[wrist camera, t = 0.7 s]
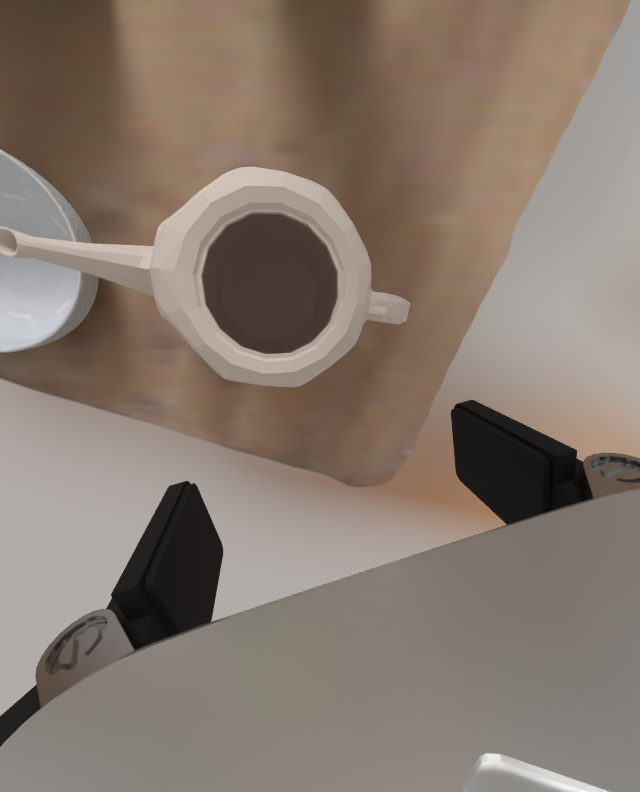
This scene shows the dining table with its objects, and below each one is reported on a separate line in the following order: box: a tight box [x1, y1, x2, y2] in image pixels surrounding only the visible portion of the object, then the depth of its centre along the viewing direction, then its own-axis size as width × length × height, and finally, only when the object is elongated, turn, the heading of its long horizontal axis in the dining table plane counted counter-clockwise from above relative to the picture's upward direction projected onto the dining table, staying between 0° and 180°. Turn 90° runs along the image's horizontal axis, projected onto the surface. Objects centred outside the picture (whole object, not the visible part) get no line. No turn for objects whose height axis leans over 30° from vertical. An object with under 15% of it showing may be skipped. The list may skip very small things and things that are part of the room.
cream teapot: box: [0, 167, 410, 387], centre depth 27 cm, size 16×27×19 cm, turn 81°
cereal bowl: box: [0, 150, 99, 353], centre depth 28 cm, size 17×17×7 cm
